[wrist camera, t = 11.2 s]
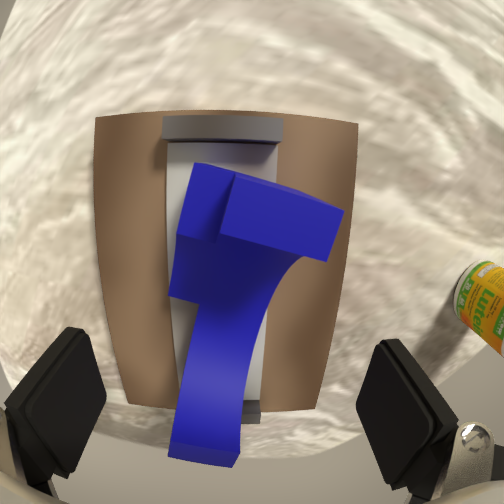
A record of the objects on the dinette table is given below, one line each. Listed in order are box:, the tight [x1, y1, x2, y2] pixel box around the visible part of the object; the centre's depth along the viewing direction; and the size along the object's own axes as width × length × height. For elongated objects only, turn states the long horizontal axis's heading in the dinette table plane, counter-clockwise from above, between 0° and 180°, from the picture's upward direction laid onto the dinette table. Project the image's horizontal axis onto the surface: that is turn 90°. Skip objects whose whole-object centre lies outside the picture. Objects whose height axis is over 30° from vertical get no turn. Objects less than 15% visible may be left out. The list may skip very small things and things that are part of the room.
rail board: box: [94, 110, 358, 424], centre depth 15 cm, size 13×18×4 cm
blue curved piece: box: [168, 162, 344, 468], centre depth 12 cm, size 12×4×6 cm, turn 164°
